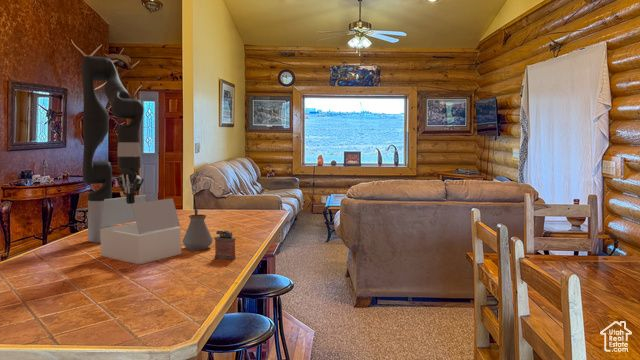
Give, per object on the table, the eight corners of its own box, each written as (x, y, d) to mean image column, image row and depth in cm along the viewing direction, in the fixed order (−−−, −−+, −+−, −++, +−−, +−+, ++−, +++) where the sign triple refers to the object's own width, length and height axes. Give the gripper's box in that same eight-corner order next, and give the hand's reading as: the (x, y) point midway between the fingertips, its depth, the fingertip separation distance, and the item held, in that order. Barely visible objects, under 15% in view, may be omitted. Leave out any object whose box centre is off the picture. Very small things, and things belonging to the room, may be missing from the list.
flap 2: (131, 203, 162) (132, 203, 162) (171, 198, 177) (172, 198, 176) (139, 233, 161) (139, 233, 161) (179, 225, 176) (180, 225, 175)
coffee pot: (213, 250, 183) (213, 211, 181) (182, 252, 179) (181, 212, 178) (210, 239, 203) (209, 204, 202) (182, 240, 200) (181, 205, 199)
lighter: (237, 258, 171) (237, 230, 170) (232, 260, 168) (232, 232, 167) (217, 256, 174) (217, 229, 173) (212, 258, 170) (212, 230, 170)
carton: (101, 255, 173) (100, 228, 173) (143, 246, 189) (142, 221, 188) (139, 264, 162) (138, 235, 161) (181, 254, 177) (180, 227, 176)
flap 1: (101, 227, 173) (100, 226, 173) (142, 220, 187) (141, 219, 187) (105, 199, 170) (104, 199, 171) (145, 195, 185) (144, 194, 185)
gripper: (108, 155, 170) (110, 203, 171) (131, 155, 163) (133, 206, 164) (126, 154, 176) (128, 201, 177) (149, 155, 169) (151, 203, 170)
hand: (130, 203), depth 171 cm, fingers closed
